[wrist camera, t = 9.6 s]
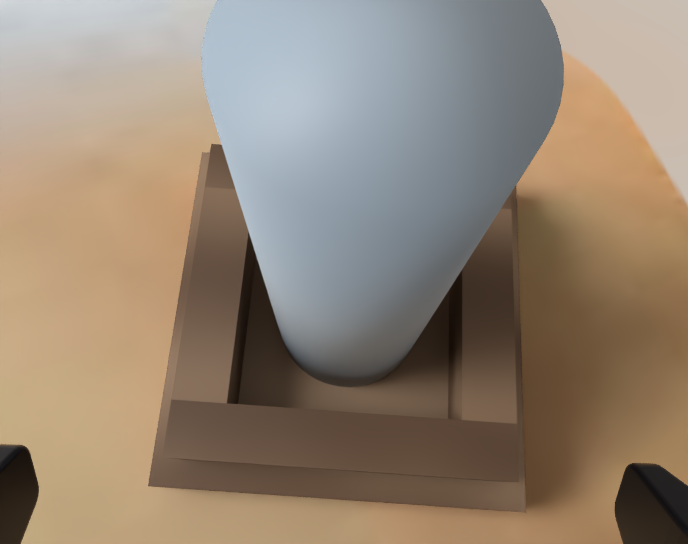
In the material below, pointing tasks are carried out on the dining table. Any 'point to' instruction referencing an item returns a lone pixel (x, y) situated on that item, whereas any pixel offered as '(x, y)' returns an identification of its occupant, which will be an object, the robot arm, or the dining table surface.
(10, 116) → the dining table surface
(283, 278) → the blue-gray capsule
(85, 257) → the dining table surface
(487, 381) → the socket base
